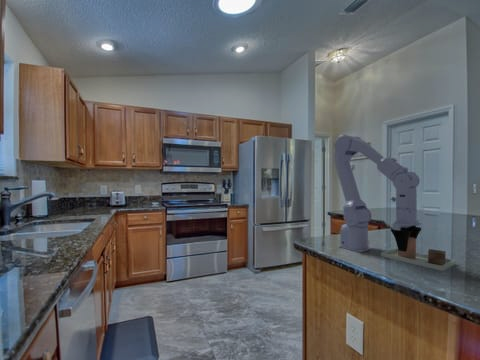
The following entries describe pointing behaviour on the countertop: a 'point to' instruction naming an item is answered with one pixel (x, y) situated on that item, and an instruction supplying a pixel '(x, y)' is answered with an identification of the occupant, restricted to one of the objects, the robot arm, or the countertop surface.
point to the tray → (417, 260)
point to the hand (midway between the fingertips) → (406, 249)
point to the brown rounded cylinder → (409, 249)
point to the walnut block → (436, 257)
